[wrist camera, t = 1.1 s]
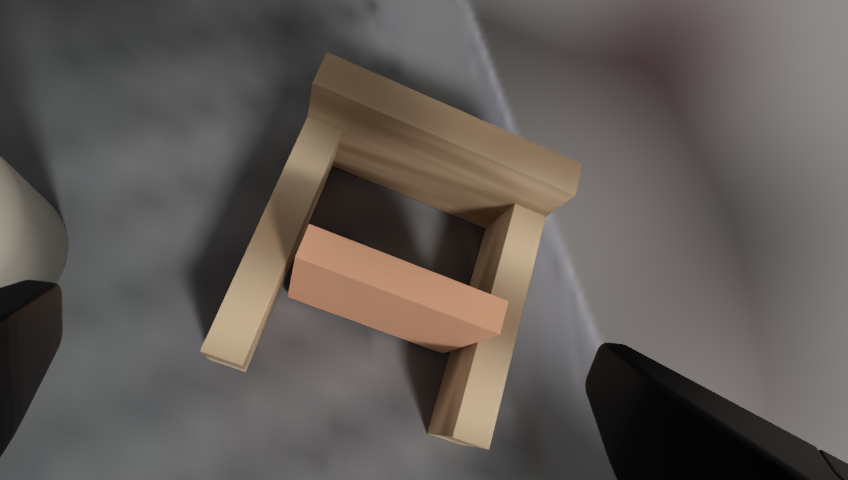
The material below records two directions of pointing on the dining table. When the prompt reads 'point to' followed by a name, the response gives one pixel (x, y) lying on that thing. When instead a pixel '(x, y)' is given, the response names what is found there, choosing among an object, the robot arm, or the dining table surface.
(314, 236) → the plate
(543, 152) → the wooden frame
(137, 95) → the dining table surface
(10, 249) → the jar
